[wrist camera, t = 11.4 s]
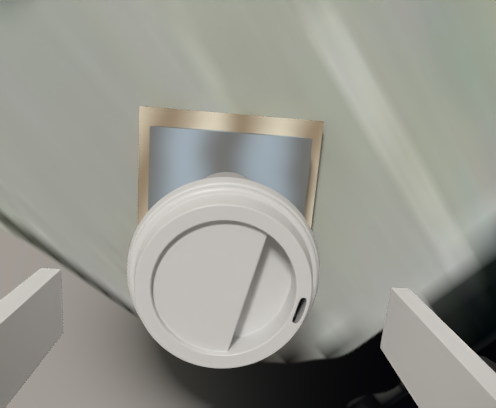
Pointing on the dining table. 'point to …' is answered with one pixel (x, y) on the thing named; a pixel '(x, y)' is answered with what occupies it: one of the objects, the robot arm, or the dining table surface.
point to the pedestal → (227, 153)
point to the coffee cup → (223, 271)
